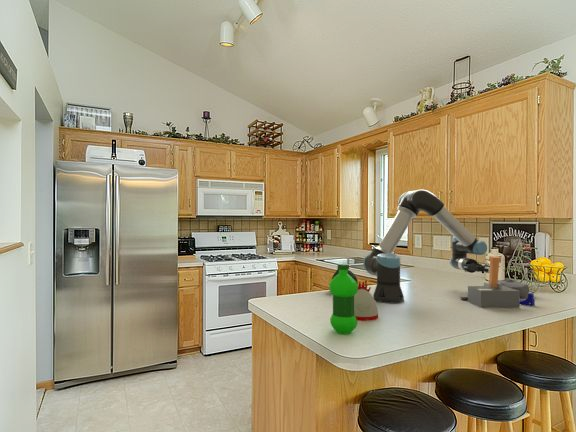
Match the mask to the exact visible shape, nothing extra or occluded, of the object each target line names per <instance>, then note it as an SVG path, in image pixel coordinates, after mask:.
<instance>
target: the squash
mask: <svg viewBox="0 0 576 432" xmlns="http://www.w3.org/2000/svg"><path fill="white" fill-rule="evenodd" d="M337 274H339V269H338V268H337V269H336V270H335V272H334V274H333V275H332V277H331V280H332V279H333V278H334V277H335V276H336V275H337ZM348 274H349V275H350V276H351V277H352V278H353V279H354V280H355V281H356V282H357V285H358V286H359V282H358V281H359V280H358V278H357V276H356V275H355V273H354V272H353V271H351V270H350V269H348ZM331 280H330V281H331Z"/></svg>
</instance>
